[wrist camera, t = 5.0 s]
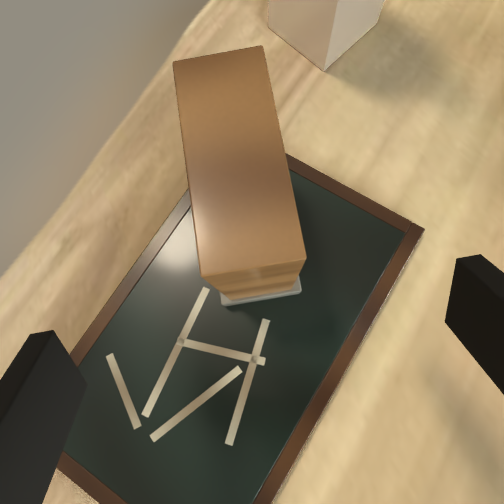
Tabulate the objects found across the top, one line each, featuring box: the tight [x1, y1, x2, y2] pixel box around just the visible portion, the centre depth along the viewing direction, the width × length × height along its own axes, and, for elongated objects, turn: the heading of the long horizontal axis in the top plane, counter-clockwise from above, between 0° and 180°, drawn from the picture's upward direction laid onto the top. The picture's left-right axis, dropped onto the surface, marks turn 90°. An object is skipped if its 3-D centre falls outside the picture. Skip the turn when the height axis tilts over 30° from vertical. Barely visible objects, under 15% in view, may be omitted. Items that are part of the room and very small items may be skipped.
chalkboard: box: [56, 153, 425, 504], centre depth 23 cm, size 26×16×1 cm, turn 147°
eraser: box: [173, 46, 307, 306], centre depth 19 cm, size 10×5×11 cm, turn 9°
